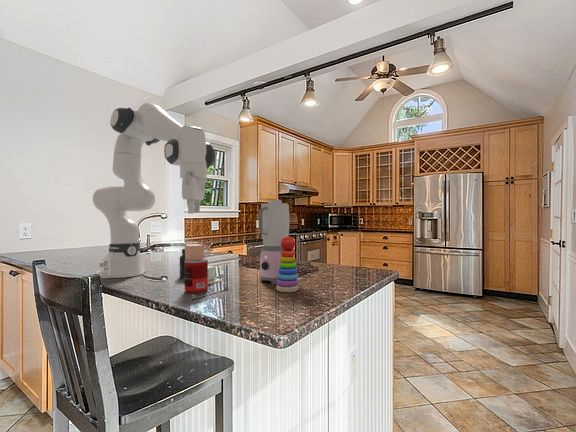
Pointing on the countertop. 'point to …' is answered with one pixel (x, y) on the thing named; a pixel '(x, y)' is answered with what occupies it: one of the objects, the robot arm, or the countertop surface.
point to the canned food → (196, 276)
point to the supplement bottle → (182, 264)
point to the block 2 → (211, 273)
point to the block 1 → (194, 252)
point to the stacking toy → (287, 267)
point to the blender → (272, 237)
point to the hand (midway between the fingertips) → (194, 213)
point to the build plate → (214, 281)
